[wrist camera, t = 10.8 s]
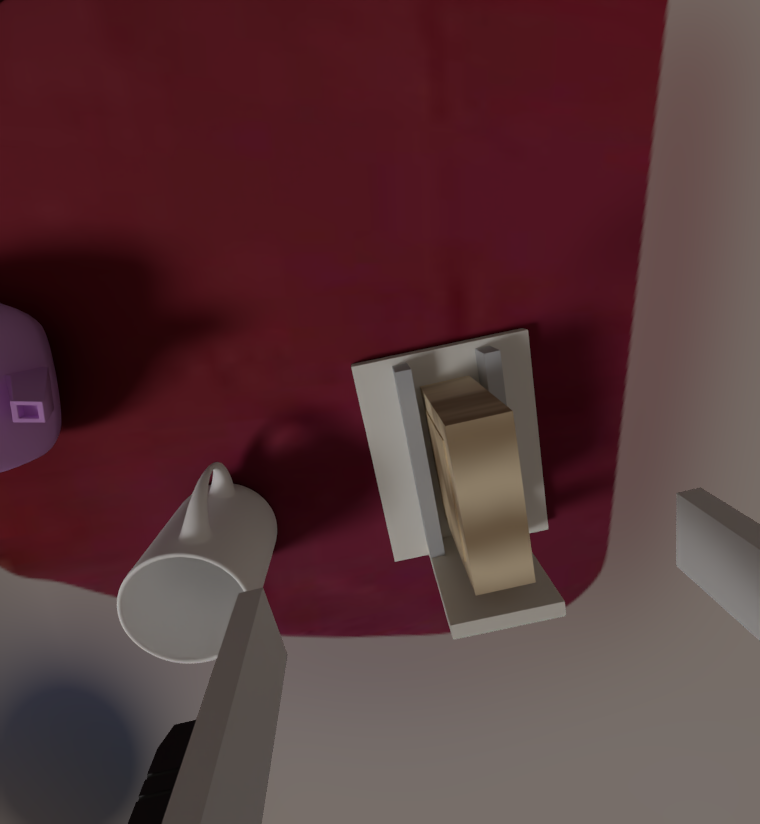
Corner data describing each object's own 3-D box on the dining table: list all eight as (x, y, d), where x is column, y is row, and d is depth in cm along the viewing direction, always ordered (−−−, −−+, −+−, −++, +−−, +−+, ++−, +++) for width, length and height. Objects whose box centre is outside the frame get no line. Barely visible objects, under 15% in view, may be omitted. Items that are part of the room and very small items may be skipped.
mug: (282, 445, 37) (255, 508, 27) (277, 568, 40) (252, 666, 30) (176, 438, 36) (107, 499, 26) (180, 563, 40) (120, 662, 29)
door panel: (418, 386, 35) (443, 426, 25) (470, 375, 35) (514, 410, 25) (444, 517, 38) (474, 595, 29) (491, 507, 38) (537, 582, 29)
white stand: (351, 364, 35) (350, 400, 25) (522, 328, 35) (596, 348, 25) (393, 553, 41) (408, 651, 30) (542, 522, 41) (611, 608, 30)
